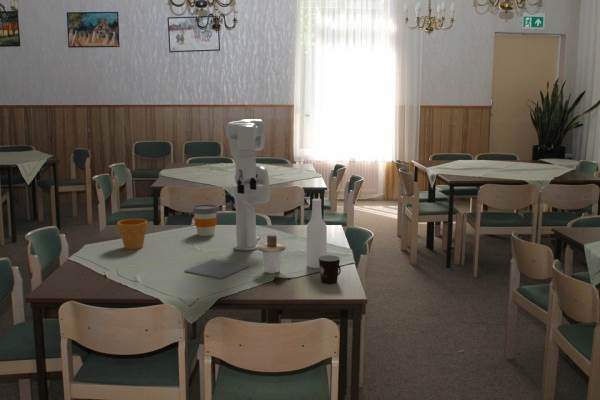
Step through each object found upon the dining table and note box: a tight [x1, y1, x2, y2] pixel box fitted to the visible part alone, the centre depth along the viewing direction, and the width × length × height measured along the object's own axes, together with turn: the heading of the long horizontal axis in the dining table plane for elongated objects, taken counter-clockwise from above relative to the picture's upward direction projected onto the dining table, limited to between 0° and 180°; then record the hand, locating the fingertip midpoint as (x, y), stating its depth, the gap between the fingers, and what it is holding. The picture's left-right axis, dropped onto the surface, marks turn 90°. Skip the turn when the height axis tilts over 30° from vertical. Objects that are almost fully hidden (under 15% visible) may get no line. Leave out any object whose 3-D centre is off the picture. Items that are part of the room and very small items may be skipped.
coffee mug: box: [319, 254, 342, 285], centre depth 251 cm, size 12×9×10 cm
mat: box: [183, 259, 250, 280], centre depth 271 cm, size 20×20×1 cm
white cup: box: [262, 251, 282, 274], centre depth 267 cm, size 8×8×10 cm
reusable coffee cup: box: [192, 204, 218, 237], centre depth 332 cm, size 13×13×15 cm
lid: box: [257, 234, 287, 253], centre depth 266 cm, size 12×12×6 cm
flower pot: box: [116, 218, 148, 250], centre depth 307 cm, size 14×14×13 cm
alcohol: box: [306, 198, 328, 270], centre depth 272 cm, size 9×9×30 cm
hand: (247, 191), depth 277 cm, fingers open, 9 cm apart
